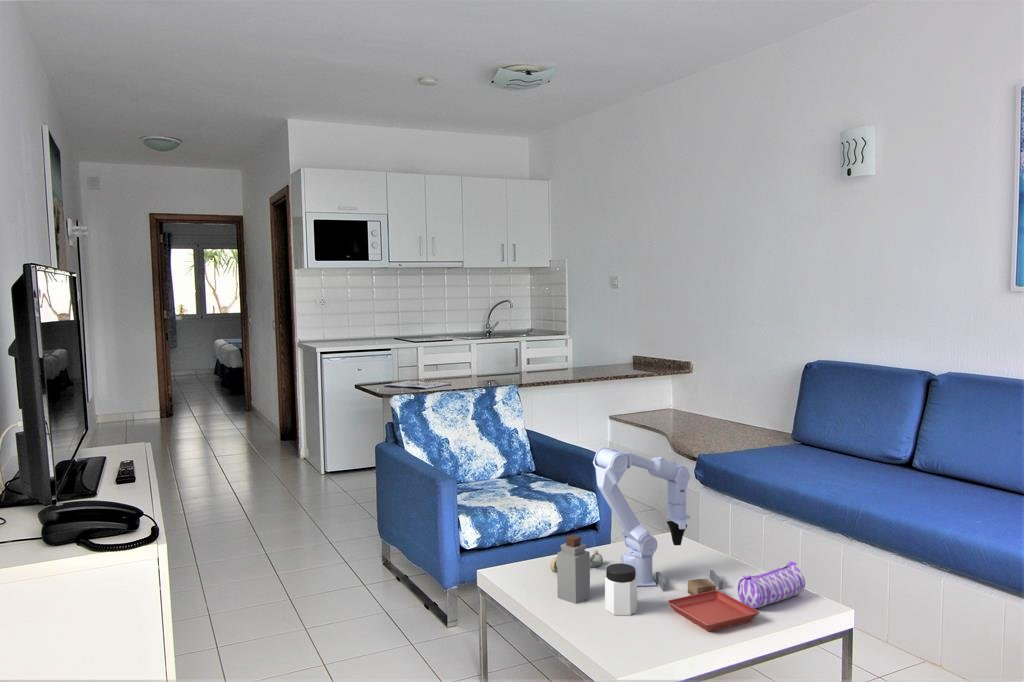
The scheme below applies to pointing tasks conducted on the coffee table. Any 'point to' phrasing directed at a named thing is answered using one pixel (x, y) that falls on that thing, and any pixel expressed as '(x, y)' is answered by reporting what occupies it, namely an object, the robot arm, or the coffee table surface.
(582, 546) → the perfume bottle
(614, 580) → the jar
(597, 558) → the toy dog
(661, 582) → the lane
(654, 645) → the coffee table surface
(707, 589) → the walnut block
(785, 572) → the pencil case
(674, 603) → the plant saucer
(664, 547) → the coffee table surface
